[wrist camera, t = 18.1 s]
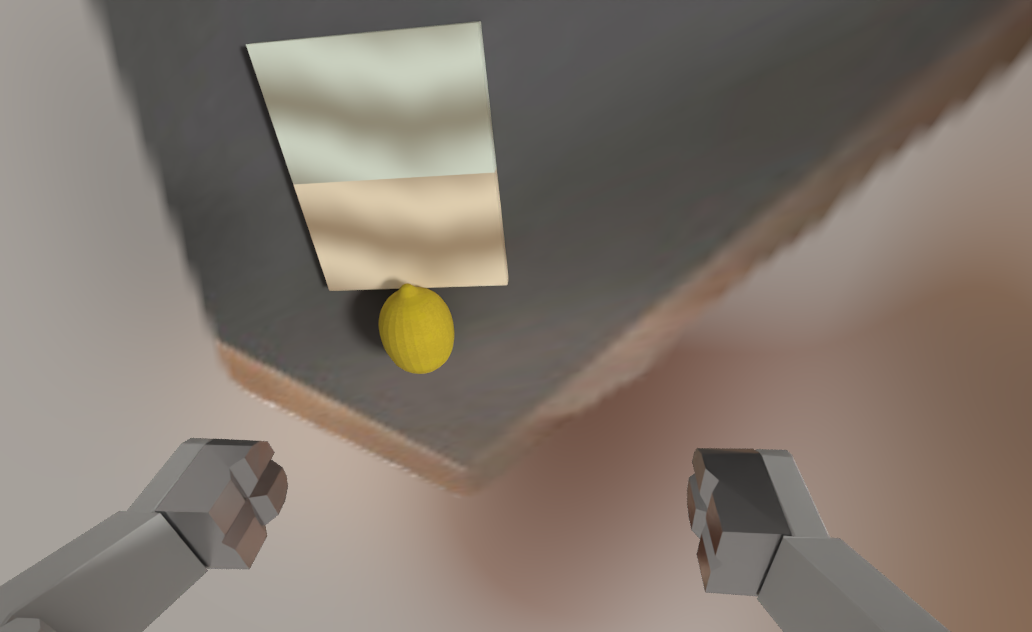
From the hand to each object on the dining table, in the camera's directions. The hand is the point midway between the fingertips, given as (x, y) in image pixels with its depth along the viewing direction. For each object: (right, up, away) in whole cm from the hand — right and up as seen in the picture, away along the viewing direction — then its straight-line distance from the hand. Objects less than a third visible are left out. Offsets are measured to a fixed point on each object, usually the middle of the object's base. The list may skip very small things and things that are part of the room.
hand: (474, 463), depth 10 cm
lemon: (-7, +5, +26) cm, 28 cm away
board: (-7, +13, +25) cm, 29 cm away
